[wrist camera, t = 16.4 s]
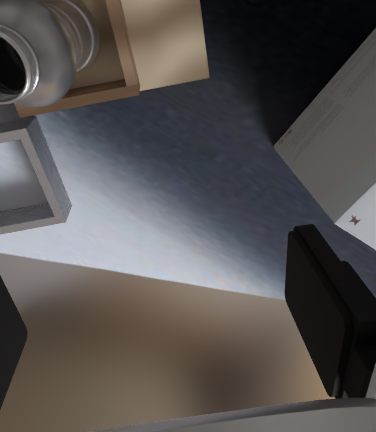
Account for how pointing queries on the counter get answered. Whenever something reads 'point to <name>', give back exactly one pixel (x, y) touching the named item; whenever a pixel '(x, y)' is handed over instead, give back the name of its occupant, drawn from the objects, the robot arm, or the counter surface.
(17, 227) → the holder
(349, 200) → the supplement box
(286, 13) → the counter surface
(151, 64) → the wooden tray
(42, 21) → the plastic bottle
